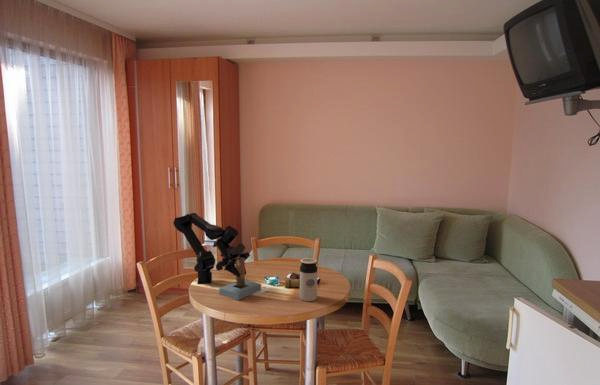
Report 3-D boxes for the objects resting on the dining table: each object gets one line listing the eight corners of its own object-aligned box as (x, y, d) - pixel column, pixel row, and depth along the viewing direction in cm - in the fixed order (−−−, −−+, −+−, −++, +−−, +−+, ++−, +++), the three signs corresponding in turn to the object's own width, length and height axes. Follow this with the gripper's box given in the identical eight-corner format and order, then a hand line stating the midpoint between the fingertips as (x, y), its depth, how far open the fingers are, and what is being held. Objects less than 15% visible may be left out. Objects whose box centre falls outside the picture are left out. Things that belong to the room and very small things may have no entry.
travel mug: (299, 294, 178) (300, 257, 176) (316, 295, 178) (317, 258, 176) (299, 301, 170) (299, 262, 168) (316, 302, 170) (317, 263, 168)
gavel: (284, 269, 207) (302, 269, 208) (284, 277, 207) (302, 277, 208) (285, 279, 186) (305, 279, 187) (285, 289, 187) (305, 288, 187)
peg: (236, 290, 179) (236, 259, 177) (236, 287, 183) (236, 257, 181) (244, 290, 179) (244, 259, 178) (244, 287, 183) (244, 257, 182)
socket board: (219, 294, 178) (219, 288, 177) (242, 284, 191) (242, 279, 191) (238, 300, 171) (238, 293, 171) (261, 289, 184) (261, 283, 184)
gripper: (219, 243, 173) (237, 271, 168) (247, 235, 188) (264, 261, 183) (208, 256, 178) (225, 284, 173) (235, 248, 193) (252, 273, 189)
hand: (242, 275), depth 179 cm, fingers closed on peg, 4 cm apart
